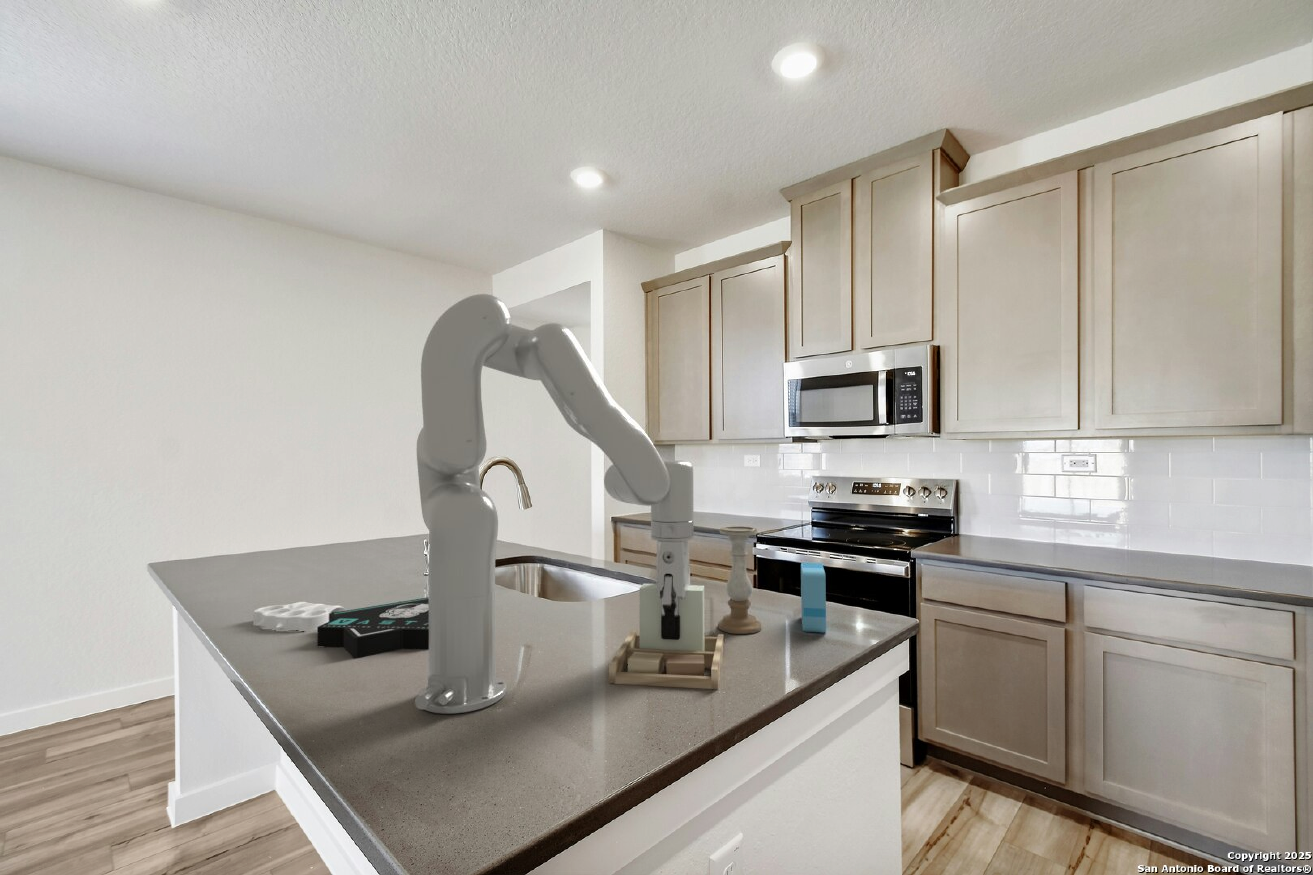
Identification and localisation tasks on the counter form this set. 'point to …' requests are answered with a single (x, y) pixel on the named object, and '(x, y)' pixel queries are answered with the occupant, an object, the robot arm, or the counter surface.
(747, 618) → the candle holder
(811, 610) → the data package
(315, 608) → the white dimpled disc
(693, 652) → the oak rack
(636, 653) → the pine offcut
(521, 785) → the counter surface
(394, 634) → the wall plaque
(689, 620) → the sage panel
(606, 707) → the counter surface
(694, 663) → the walnut offcut
